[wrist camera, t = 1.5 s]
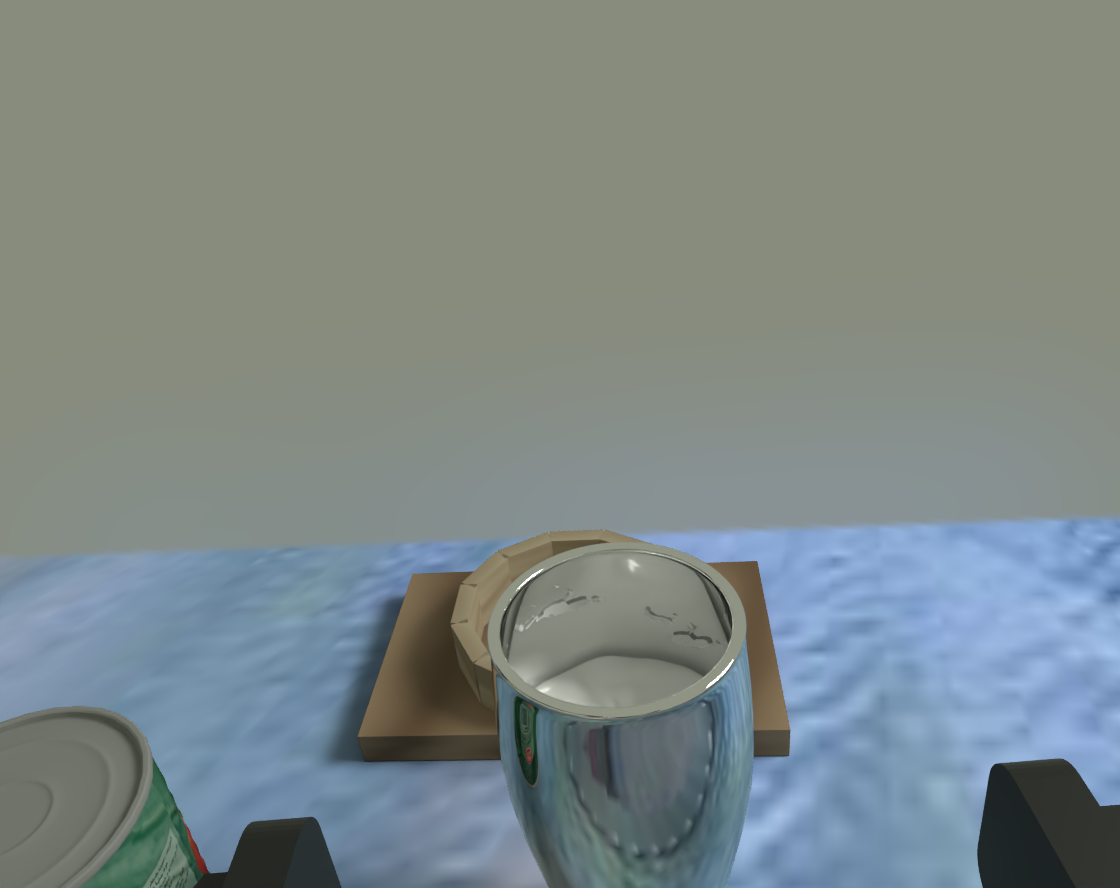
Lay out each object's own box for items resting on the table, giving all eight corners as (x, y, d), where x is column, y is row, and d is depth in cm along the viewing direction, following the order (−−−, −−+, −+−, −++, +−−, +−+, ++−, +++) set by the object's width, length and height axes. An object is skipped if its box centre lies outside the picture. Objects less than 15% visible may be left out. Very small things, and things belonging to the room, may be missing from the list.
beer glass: (578, 846, 34) (533, 524, 26) (764, 889, 32) (771, 551, 24) (513, 1035, 28) (432, 694, 21) (733, 1104, 26) (730, 750, 19)
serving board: (364, 760, 39) (344, 694, 37) (417, 595, 48) (403, 535, 46) (789, 755, 37) (791, 684, 35) (756, 584, 46) (757, 520, 44)
